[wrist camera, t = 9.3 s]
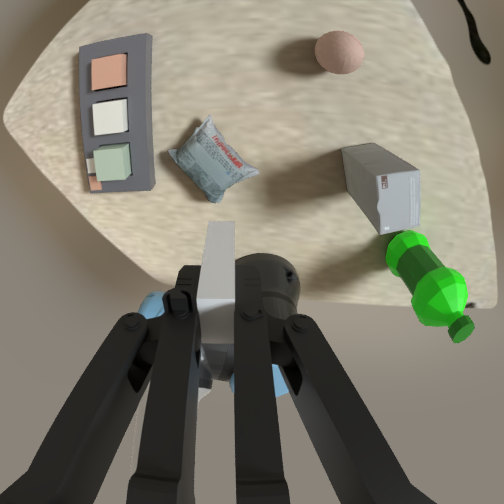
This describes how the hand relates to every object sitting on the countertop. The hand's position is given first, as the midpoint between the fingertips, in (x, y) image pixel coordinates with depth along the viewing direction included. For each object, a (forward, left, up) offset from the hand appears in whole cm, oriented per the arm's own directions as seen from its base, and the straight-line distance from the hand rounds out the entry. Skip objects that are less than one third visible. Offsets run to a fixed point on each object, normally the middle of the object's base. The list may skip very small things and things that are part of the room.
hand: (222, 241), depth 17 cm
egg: (+15, -14, -31) cm, 37 cm away
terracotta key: (+12, +18, -30) cm, 37 cm away
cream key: (+5, +18, -30) cm, 35 cm away
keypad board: (+5, +18, -30) cm, 36 cm away
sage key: (-2, +18, -29) cm, 34 cm away
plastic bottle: (-18, -34, -31) cm, 49 cm away
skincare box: (-3, -21, -31) cm, 37 cm away
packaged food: (-3, +2, -31) cm, 31 cm away
